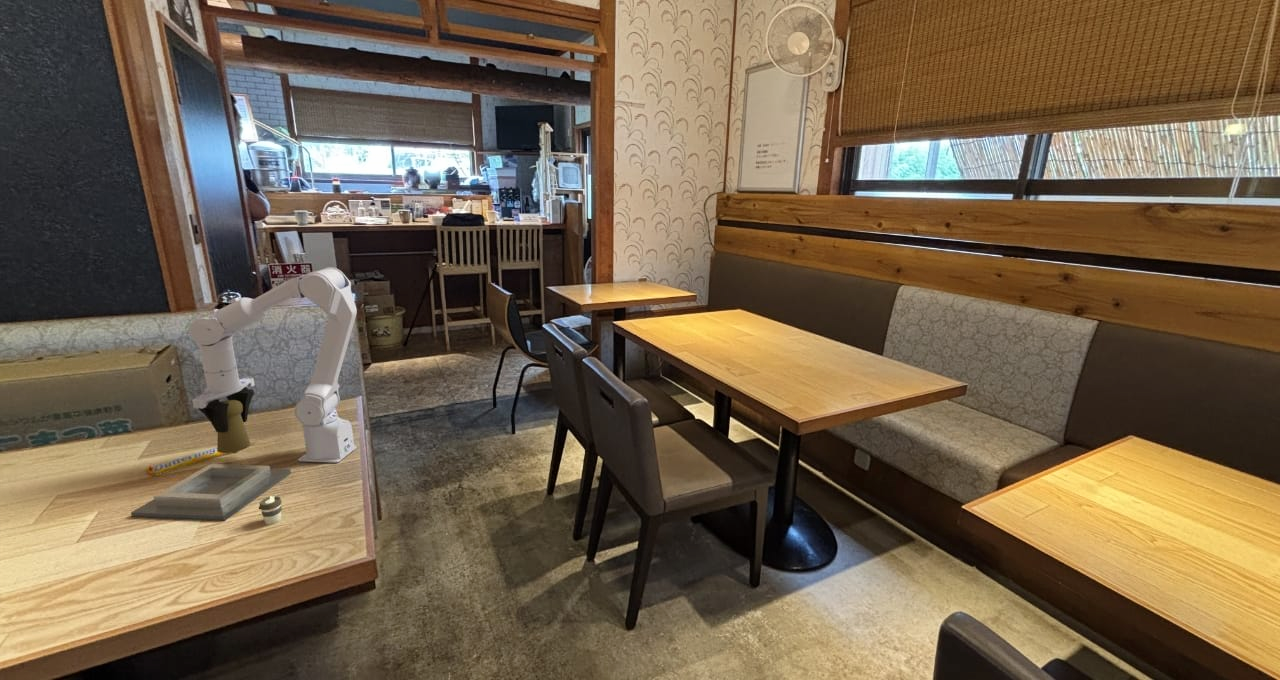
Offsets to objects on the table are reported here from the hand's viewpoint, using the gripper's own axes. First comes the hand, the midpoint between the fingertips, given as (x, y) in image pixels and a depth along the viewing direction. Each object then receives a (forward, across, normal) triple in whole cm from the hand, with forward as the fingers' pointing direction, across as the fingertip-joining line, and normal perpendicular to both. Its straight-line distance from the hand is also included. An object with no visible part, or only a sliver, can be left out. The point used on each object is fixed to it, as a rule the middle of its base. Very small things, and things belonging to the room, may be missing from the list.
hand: (232, 426), depth 119 cm
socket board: (+8, +14, +7) cm, 18 cm away
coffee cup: (+9, +22, +25) cm, 35 cm away
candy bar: (+9, +1, -9) cm, 13 cm away
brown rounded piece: (+5, 0, 0) cm, 5 cm away
